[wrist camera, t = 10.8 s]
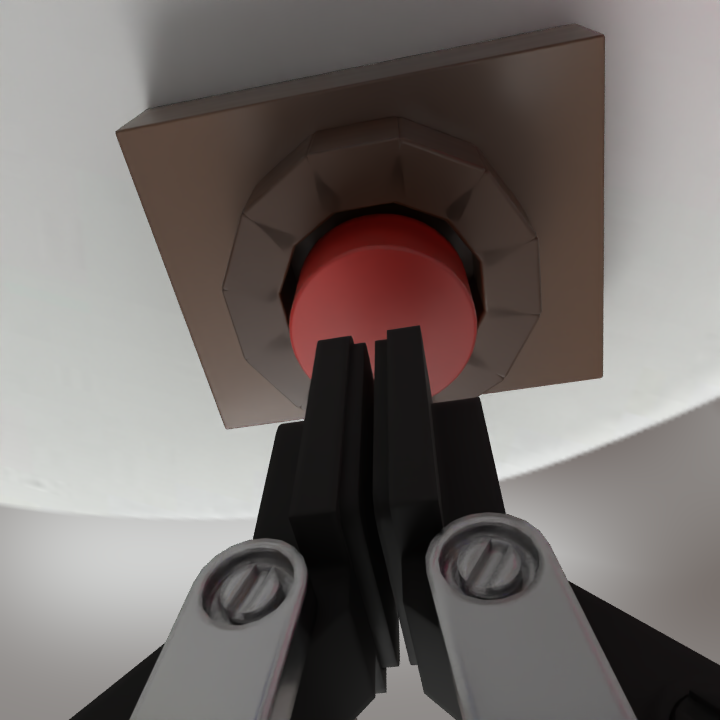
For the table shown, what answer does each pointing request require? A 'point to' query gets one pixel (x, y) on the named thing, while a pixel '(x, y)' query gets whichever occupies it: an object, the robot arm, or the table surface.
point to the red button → (385, 293)
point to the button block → (389, 205)
